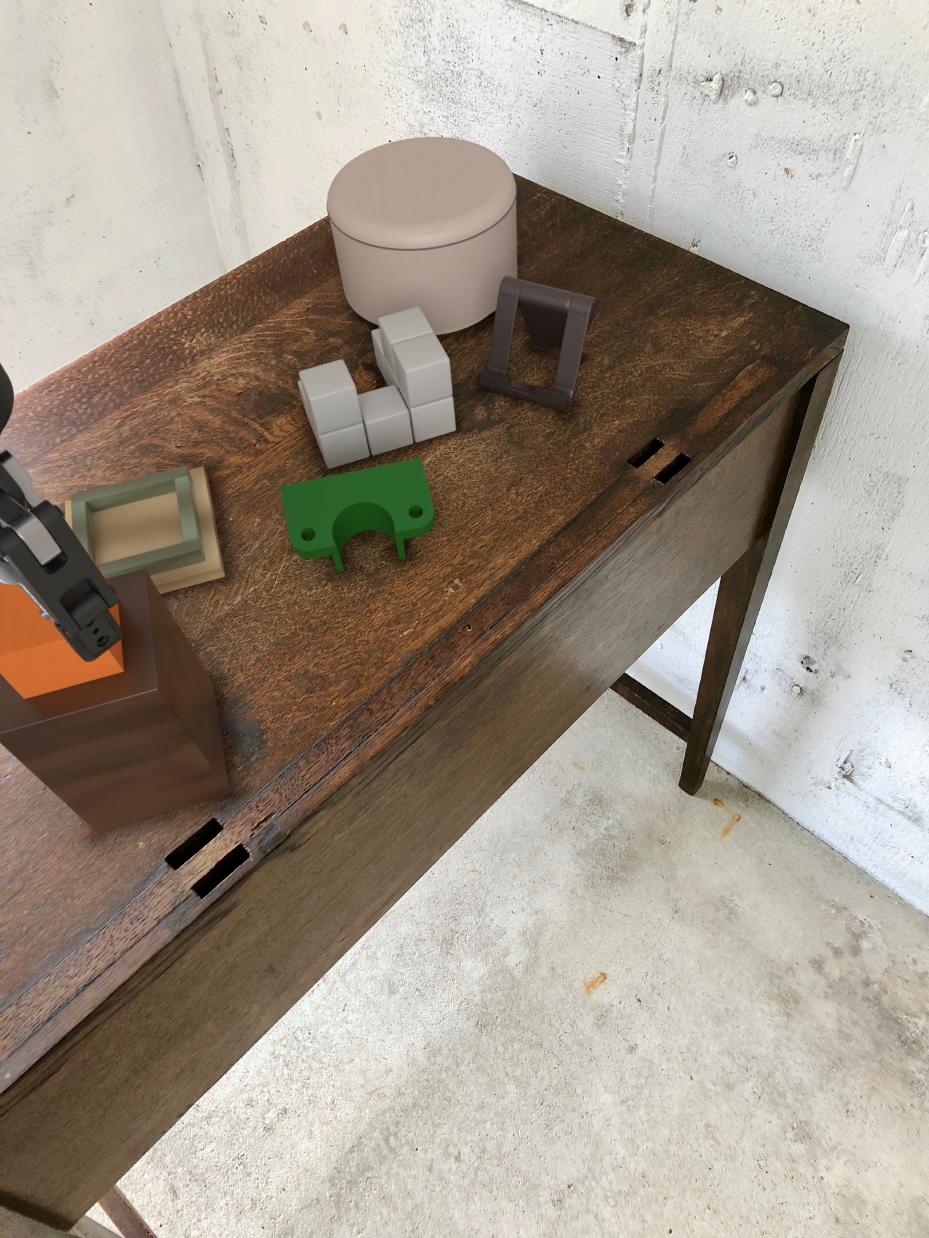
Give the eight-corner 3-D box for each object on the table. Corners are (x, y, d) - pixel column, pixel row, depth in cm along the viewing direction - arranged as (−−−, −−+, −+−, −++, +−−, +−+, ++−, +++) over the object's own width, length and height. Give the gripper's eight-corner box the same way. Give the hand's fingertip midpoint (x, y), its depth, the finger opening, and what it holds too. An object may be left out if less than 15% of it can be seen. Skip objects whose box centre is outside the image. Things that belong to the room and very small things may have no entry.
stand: (230, 794, 59) (158, 688, 48) (97, 833, 58) (-9, 735, 47) (214, 685, 64) (145, 567, 53) (91, 720, 63) (-6, 607, 52)
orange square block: (124, 671, 49) (95, 631, 45) (24, 699, 48) (-13, 660, 45) (118, 597, 52) (90, 554, 49) (24, 622, 51) (-11, 580, 48)
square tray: (225, 576, 70) (215, 555, 68) (75, 617, 69) (60, 596, 67) (207, 475, 77) (197, 453, 75) (70, 510, 76) (56, 488, 74)
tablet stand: (477, 391, 81) (472, 314, 74) (513, 341, 85) (511, 263, 78) (564, 417, 79) (567, 339, 72) (598, 364, 82) (604, 285, 76)
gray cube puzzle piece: (414, 353, 85) (405, 280, 79) (456, 431, 78) (450, 358, 72) (295, 387, 83) (275, 315, 77) (328, 470, 77) (309, 399, 70)
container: (452, 221, 98) (443, 112, 88) (554, 295, 89) (556, 182, 79) (313, 285, 93) (288, 176, 83) (407, 370, 84) (391, 258, 74)
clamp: (335, 596, 74) (272, 563, 66) (323, 534, 76) (261, 495, 68) (462, 543, 70) (411, 502, 62) (445, 480, 73) (394, 432, 64)
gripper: (-341, 304, 32) (-85, 578, 45) (-166, 478, 26) (71, 735, 39) (-147, 211, 35) (40, 494, 48) (50, 347, 29) (201, 627, 42)
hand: (53, 601), depth 44 cm, fingers open, 8 cm apart
